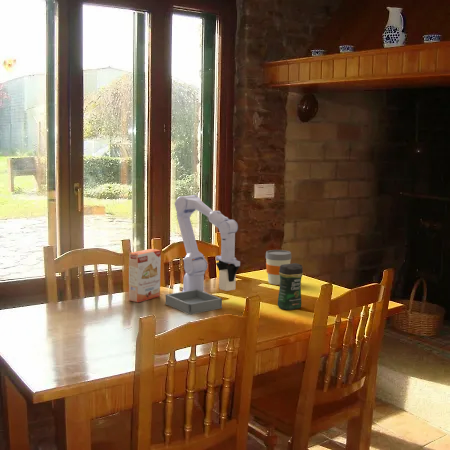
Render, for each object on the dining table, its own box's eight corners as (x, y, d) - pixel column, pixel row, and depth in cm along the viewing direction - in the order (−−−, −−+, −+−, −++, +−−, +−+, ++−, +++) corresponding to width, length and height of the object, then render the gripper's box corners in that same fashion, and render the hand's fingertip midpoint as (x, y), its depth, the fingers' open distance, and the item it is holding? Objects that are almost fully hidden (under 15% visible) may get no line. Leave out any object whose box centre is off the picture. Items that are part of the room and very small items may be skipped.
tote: (165, 303, 252) (165, 294, 251) (196, 298, 261) (197, 289, 261) (189, 314, 237) (189, 304, 237) (221, 308, 247) (222, 298, 246)
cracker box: (138, 303, 252) (138, 254, 249) (128, 300, 256) (127, 252, 252) (161, 296, 263) (161, 249, 260) (151, 294, 267) (151, 247, 264)
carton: (219, 288, 257) (219, 270, 256) (228, 286, 260) (228, 268, 259) (226, 290, 253) (226, 272, 252) (235, 289, 256) (235, 270, 255)
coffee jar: (285, 311, 244) (287, 266, 241) (274, 306, 251) (275, 263, 248) (304, 308, 249) (306, 264, 246) (293, 303, 256) (294, 261, 253)
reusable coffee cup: (295, 281, 294) (296, 251, 292) (283, 287, 284) (284, 255, 281) (272, 278, 301) (273, 248, 299) (260, 283, 290) (260, 252, 288)
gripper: (246, 250, 251) (245, 282, 253) (225, 245, 262) (224, 275, 264) (232, 252, 246) (232, 284, 248) (212, 246, 258) (211, 277, 260)
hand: (227, 279), depth 256 cm, fingers closed on carton, 5 cm apart
